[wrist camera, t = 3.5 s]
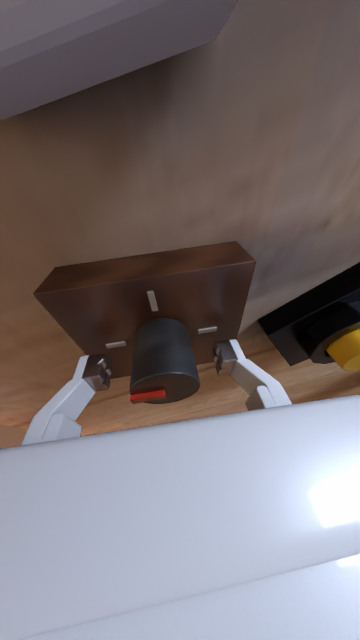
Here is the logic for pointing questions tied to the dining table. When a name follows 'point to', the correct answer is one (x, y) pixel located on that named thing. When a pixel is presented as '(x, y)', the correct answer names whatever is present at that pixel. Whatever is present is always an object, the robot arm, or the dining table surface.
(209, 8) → the charger
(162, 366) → the dial
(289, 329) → the button housing
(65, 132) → the dining table surface
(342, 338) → the button
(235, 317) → the control panel
